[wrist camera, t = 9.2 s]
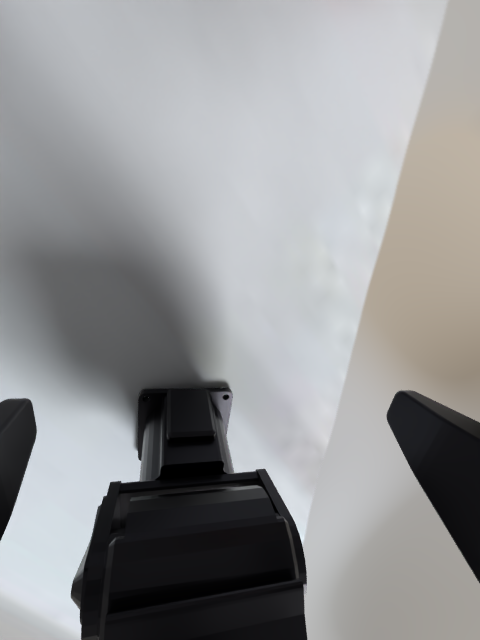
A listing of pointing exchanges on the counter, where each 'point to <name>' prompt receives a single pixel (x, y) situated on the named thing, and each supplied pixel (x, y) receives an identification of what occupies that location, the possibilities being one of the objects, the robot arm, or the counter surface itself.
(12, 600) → the counter surface
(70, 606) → the counter surface
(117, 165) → the counter surface
